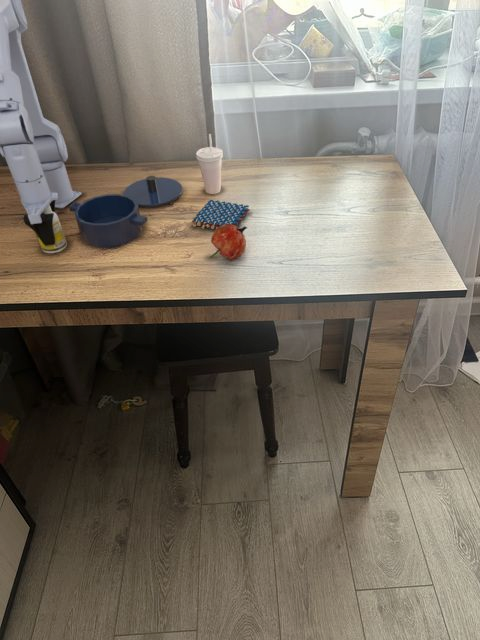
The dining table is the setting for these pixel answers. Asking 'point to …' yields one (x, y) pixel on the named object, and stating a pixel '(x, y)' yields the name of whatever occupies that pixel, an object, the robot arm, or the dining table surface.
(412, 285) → the dining table surface
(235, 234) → the pomegranate
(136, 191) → the pan lid
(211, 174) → the smoothie
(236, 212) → the woven mat
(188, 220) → the dining table surface
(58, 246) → the supplement bottle
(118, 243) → the pan
